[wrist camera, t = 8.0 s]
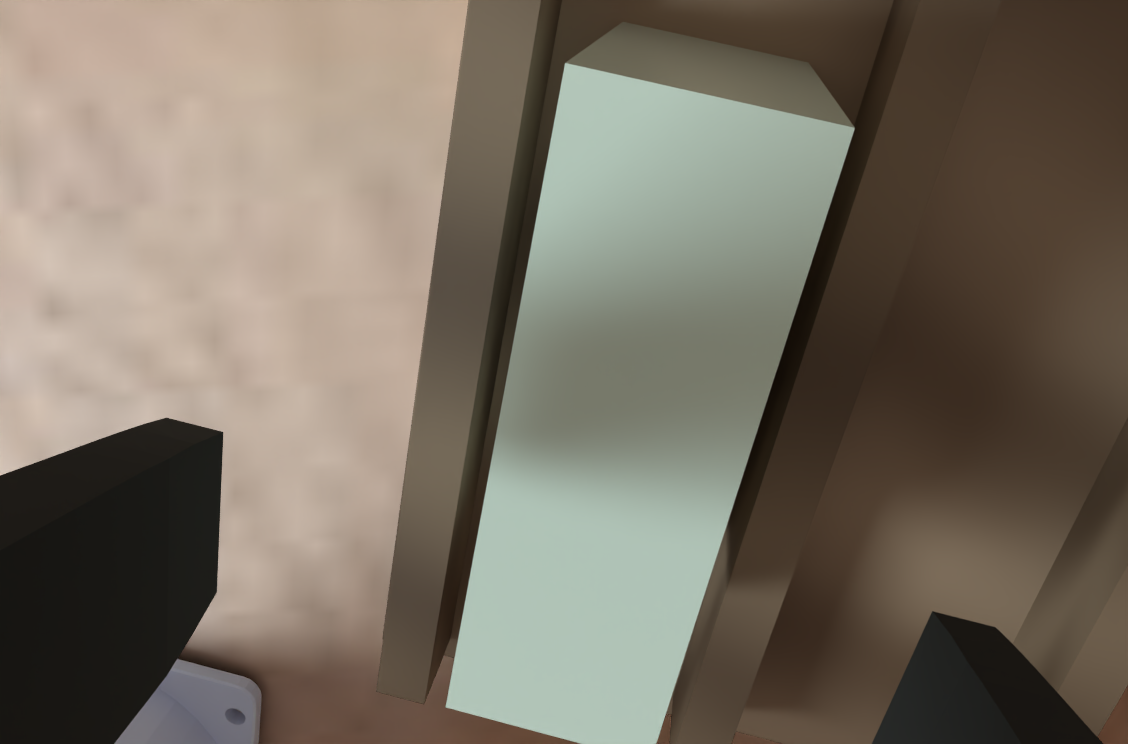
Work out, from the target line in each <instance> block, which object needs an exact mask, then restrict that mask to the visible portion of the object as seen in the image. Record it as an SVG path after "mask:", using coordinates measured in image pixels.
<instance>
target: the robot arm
mask: <svg viewBox="0 0 1128 744" xmlns="http://www.w3.org/2000/svg"><path fill="white" fill-rule="evenodd" d="M222 450H223V432H221V431H217V430H213V429H209V428H205V427H201V426H197V425H193V424H189V423H185V422H181V421H177V420H173V419H169V418H164V419H161V420H157V421H153V422H150V423H146V424H143V425H140V426H137V427H134V428H131V429H128V430H125V431H122V432H119V433H116V434H113V435H111V436H108V437H105V438H102V439H99V440H97V441H94V442H91V443H88V444H86V445H83V446H80V447H77V448H75V449H72V450H69V451H67V452H64V453H61V454H58V455H56V456H53V457H50V458H48V459H45V460H42V461H39V462H37V463H34V464H31V465H28V466H26V467H23V468H20V469H17V470H15V471H12V472H9V473H6V474H3V475H1V476H0V744H259V730H260V715H261V700H262V696H261V691H260V689H259V687H258V686H257V684H256V683H254V682H253V681H252V680H251V679H248V678H246V677H243V676H240V675H236V674H232V673H228V672H225V671H221V670H217V669H213V668H210V667H206V666H202V665H198V664H195V663H191V662H187V661H183V660H180V659H177V658H178V657H179V655H180V654H181V652H182V650H183V649H184V647H185V646H186V644H187V642H188V641H189V639H190V637H191V636H192V634H193V632H194V631H195V629H196V627H197V625H198V624H199V622H200V620H201V618H202V617H203V615H204V613H205V612H206V610H207V608H208V606H209V605H210V603H211V601H212V599H213V598H214V596H215V594H216V593H217V572H218V547H219V523H220V498H221V474H222ZM236 709H237V710H239V711H241V712H242V713H241V712H239V711H237V710H236ZM872 744H1103V743H1102V742H1101V741H1100V740H1099V739H1098V737H1097V736H1096V735H1095V734H1094V733H1093V732H1092V731H1091V730H1090V728H1089V727H1088V726H1087V725H1086V724H1085V723H1084V722H1083V721H1082V719H1081V718H1080V717H1079V716H1078V715H1077V714H1076V713H1075V712H1074V710H1073V709H1072V708H1071V707H1070V706H1069V705H1068V704H1067V703H1066V702H1065V700H1064V699H1063V698H1062V697H1061V696H1060V695H1059V694H1058V693H1057V691H1056V690H1055V689H1054V688H1053V687H1052V686H1051V685H1050V684H1049V683H1048V681H1047V680H1046V679H1045V678H1044V677H1043V676H1042V675H1041V674H1040V673H1039V672H1038V670H1037V669H1036V668H1035V667H1034V666H1033V665H1032V664H1031V663H1030V662H1029V661H1028V660H1027V658H1026V657H1025V656H1024V655H1023V654H1022V653H1021V652H1020V651H1019V650H1018V649H1017V648H1016V647H1015V646H1014V645H1013V644H1012V643H1011V642H1010V641H1009V640H1008V639H1007V638H1006V637H1005V636H1004V635H1003V634H1002V633H1001V632H1000V631H999V630H998V629H997V628H996V627H993V626H989V625H985V624H981V623H977V622H973V621H969V620H965V619H961V618H957V617H953V616H950V615H946V614H942V613H938V612H934V611H932V613H931V615H930V617H929V619H928V622H927V624H926V626H925V628H924V630H923V632H922V635H921V637H920V639H919V641H918V643H917V646H916V648H915V650H914V652H913V654H912V657H911V659H910V661H909V663H908V665H907V668H906V670H905V672H904V674H903V676H902V679H901V681H900V683H899V685H898V687H897V690H896V692H895V694H894V696H893V698H892V700H891V703H890V705H889V707H888V709H887V711H886V714H885V716H884V718H883V720H882V722H881V725H880V727H879V729H878V731H877V733H876V736H875V738H874V740H873V742H872Z"/></svg>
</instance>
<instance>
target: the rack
mask: <svg viewBox="0 0 1128 744" xmlns="http://www.w3.org/2000/svg"><path fill="white" fill-rule="evenodd" d="M622 22H627V23H632V24H636V25H641V26H645V27H650V28H654V29H659V30H663V31H668V32H672V33H677V34H681V35H686V36H691V37H695V38H700V39H704V40H709V41H713V42H718V43H722V44H727V45H731V46H736V47H740V48H745V49H749V50H754V51H758V52H763V53H768V54H772V55H777V56H781V57H786V58H790V59H795V60H799V61H804V62H808V63H809V64H810V65H811V67H812V68H813V70H814V71H815V72H816V74H817V75H818V77H819V78H820V79H821V81H822V82H823V84H824V85H825V86H826V88H827V89H828V91H829V92H830V93H831V95H832V96H833V98H834V99H835V100H836V102H837V103H838V105H839V106H840V108H841V109H842V110H843V112H844V113H845V115H846V116H847V117H848V119H849V120H850V122H851V123H852V124H853V126H854V127H855V129H854V133H853V136H852V139H851V142H850V145H849V148H848V151H847V154H846V157H845V160H844V164H843V167H842V170H841V173H840V176H839V179H838V182H837V185H836V188H835V191H834V195H833V198H832V201H831V204H830V207H829V210H828V213H827V216H826V219H825V222H824V226H823V229H822V232H821V235H820V238H819V241H818V244H817V247H816V250H815V253H814V256H813V260H812V263H811V266H810V269H809V272H808V275H807V278H806V281H805V284H804V287H803V291H802V294H801V297H800V300H799V303H798V306H797V309H796V312H795V315H794V318H793V322H792V325H791V328H790V331H789V334H788V337H787V340H786V343H785V346H784V349H783V353H782V356H781V359H780V362H779V365H778V368H777V371H776V374H775V377H774V380H773V383H772V387H771V390H770V393H769V396H768V399H767V402H766V405H765V408H764V411H763V414H762V418H761V421H760V424H759V427H758V430H757V433H756V436H755V439H754V442H753V445H752V449H751V452H750V455H749V458H748V461H747V464H746V467H745V470H744V473H743V476H742V480H741V483H740V486H739V489H738V492H737V495H736V498H735V501H734V504H733V507H732V511H731V514H730V517H729V520H728V523H727V526H726V529H725V532H724V535H723V538H722V541H721V545H720V548H719V551H718V554H717V557H716V560H715V563H714V566H713V569H712V572H711V576H710V579H709V582H708V585H707V588H706V591H705V594H704V597H703V600H702V603H701V607H700V610H699V613H698V616H697V619H696V622H695V625H694V628H693V631H692V634H691V638H690V641H689V644H688V647H687V650H686V653H685V656H684V659H683V662H682V665H681V668H680V672H679V675H678V678H677V681H676V684H675V687H674V690H673V693H672V696H671V699H670V703H669V706H668V709H667V712H666V713H667V714H671V715H672V716H671V730H670V744H731V743H732V741H733V738H734V735H735V732H740V733H744V734H747V735H751V736H755V737H759V738H763V739H767V740H770V741H774V742H778V743H782V744H872V742H873V740H874V738H875V736H876V733H877V731H878V729H879V727H880V725H881V722H882V720H883V718H884V716H885V714H886V711H887V709H888V707H889V705H890V703H891V700H892V698H893V696H894V694H895V692H896V690H897V687H898V685H899V683H900V681H901V679H902V676H903V674H904V672H905V670H906V668H907V665H908V663H909V661H910V659H911V657H912V654H913V652H914V650H915V648H916V646H917V643H918V641H919V639H920V637H921V635H922V632H923V630H924V628H925V626H926V624H927V622H928V619H929V617H930V615H931V613H932V611H934V612H938V613H942V614H946V615H950V616H953V617H957V618H961V619H965V620H969V621H973V622H977V623H981V624H985V625H989V626H993V627H996V628H997V629H998V630H999V631H1000V632H1001V633H1002V634H1003V635H1004V636H1005V637H1006V638H1007V639H1008V640H1009V641H1010V642H1011V643H1012V644H1013V645H1014V646H1015V647H1016V648H1017V649H1018V650H1019V651H1020V652H1021V653H1022V654H1023V655H1024V656H1025V657H1026V658H1027V660H1028V661H1029V662H1030V663H1031V664H1032V665H1033V666H1034V667H1035V668H1036V669H1037V670H1038V672H1039V673H1040V674H1041V675H1042V676H1043V677H1044V678H1045V679H1046V680H1047V681H1048V683H1049V684H1050V685H1051V686H1052V687H1053V688H1054V689H1055V690H1056V691H1057V693H1058V694H1059V695H1060V696H1061V697H1062V698H1063V699H1064V700H1065V702H1066V703H1067V704H1068V705H1069V706H1070V707H1071V708H1072V709H1073V710H1074V712H1075V713H1076V714H1077V715H1078V716H1079V717H1080V718H1081V719H1082V721H1083V722H1084V723H1085V724H1086V725H1087V726H1088V727H1089V728H1090V730H1091V731H1092V732H1093V733H1094V734H1095V735H1096V736H1097V737H1098V735H1099V733H1100V732H1101V730H1102V728H1103V726H1104V725H1105V723H1106V721H1107V720H1108V718H1109V716H1110V715H1111V713H1112V711H1113V710H1114V708H1115V706H1116V704H1117V703H1118V701H1119V699H1120V698H1121V696H1122V694H1123V693H1124V691H1125V689H1126V688H1127V686H1128V0H469V1H468V9H467V16H466V24H465V31H464V38H463V46H462V53H461V61H460V68H459V76H458V83H457V90H456V98H455V105H454V113H453V120H452V127H451V135H450V142H449V150H448V157H447V164H446V172H445V179H444V187H443V194H442V201H441V209H440V216H439V224H438V231H437V239H436V246H435V253H434V261H433V268H432V276H431V283H430V290H429V298H428V305H427V313H426V320H425V327H424V335H423V342H422V350H421V357H420V364H419V372H418V379H417V387H416V394H415V402H414V409H413V416H412V424H411V431H410V439H409V446H408V453H407V461H406V468H405V476H404V483H403V490H402V498H401V505H400V513H399V520H398V527H397V535H396V542H395V550H394V557H393V565H392V572H391V579H390V587H389V594H388V602H387V609H386V616H385V624H384V631H383V646H382V653H381V660H380V668H379V675H378V683H377V690H376V692H379V693H383V694H387V695H391V696H394V697H398V698H402V699H406V700H410V701H413V702H417V703H421V704H424V703H425V701H426V698H427V696H428V693H429V691H430V688H431V686H432V683H433V681H434V678H435V676H436V673H437V671H438V668H439V666H440V663H441V661H442V658H443V656H444V655H445V656H449V657H453V658H455V654H456V648H457V643H458V637H459V632H460V627H461V621H462V616H463V611H464V605H465V600H466V594H467V589H468V584H469V578H470V573H471V567H472V562H473V557H474V551H475V546H476V541H477V535H478V530H479V524H480V519H481V514H482V508H483V503H484V497H485V492H486V487H487V481H488V476H489V470H490V465H491V460H492V454H493V449H494V444H495V438H496V433H497V427H498V422H499V417H500V411H501V406H502V400H503V395H504V390H505V384H506V379H507V374H508V368H509V363H510V357H511V352H512V347H513V341H514V336H515V330H516V325H517V320H518V314H519V309H520V304H521V298H522V293H523V287H524V282H525V277H526V271H527V266H528V260H529V255H530V250H531V244H532V239H533V234H534V228H535V223H536V217H537V212H538V207H539V201H540V196H541V190H542V185H543V180H544V174H545V169H546V163H547V158H548V153H549V147H550V142H551V137H552V131H553V126H554V120H555V115H556V110H557V104H558V99H559V93H560V88H561V83H562V77H563V72H564V67H565V63H566V62H567V61H569V60H570V59H571V58H573V57H574V56H576V55H577V54H578V53H580V52H581V51H583V50H584V49H585V48H587V47H588V46H590V45H591V44H592V43H594V42H595V41H597V40H598V39H599V38H601V37H602V36H604V35H605V34H606V33H608V32H609V31H611V30H612V29H613V28H615V27H616V26H618V25H619V24H620V23H622Z"/></svg>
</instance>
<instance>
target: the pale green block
mask: <svg viewBox="0 0 1128 744" xmlns="http://www.w3.org/2000/svg"><path fill="white" fill-rule="evenodd" d="M854 129H855V127H854V126H853V124H852V123H851V122H850V120H849V119H848V117H847V116H846V115H845V113H844V112H843V110H842V109H841V108H840V106H839V105H838V103H837V102H836V100H835V99H834V98H833V96H832V95H831V93H830V92H829V91H828V89H827V88H826V86H825V85H824V84H823V82H822V81H821V79H820V78H819V77H818V75H817V74H816V72H815V71H814V70H813V68H812V67H811V65H810V64H809V63H808V62H804V61H799V60H795V59H790V58H786V57H781V56H777V55H772V54H768V53H763V52H758V51H754V50H749V49H745V48H740V47H736V46H731V45H727V44H722V43H718V42H713V41H709V40H704V39H700V38H695V37H691V36H686V35H681V34H677V33H672V32H668V31H663V30H659V29H654V28H650V27H645V26H641V25H636V24H632V23H627V22H622V23H620V24H619V25H618V26H616V27H615V28H613V29H612V30H611V31H609V32H608V33H606V34H605V35H604V36H602V37H601V38H599V39H598V40H597V41H595V42H594V43H592V44H591V45H590V46H588V47H587V48H585V49H584V50H583V51H581V52H580V53H578V54H577V55H576V56H574V57H573V58H571V59H570V60H569V61H567V62H566V63H565V67H564V72H563V77H562V83H561V88H560V93H559V99H558V104H557V110H556V115H555V120H554V126H553V131H552V137H551V142H550V147H549V153H548V158H547V163H546V169H545V174H544V180H543V185H542V190H541V196H540V201H539V207H538V212H537V217H536V223H535V228H534V234H533V239H532V244H531V250H530V255H529V260H528V266H527V271H526V277H525V282H524V287H523V293H522V298H521V304H520V309H519V314H518V320H517V325H516V330H515V336H514V341H513V347H512V352H511V357H510V363H509V368H508V374H507V379H506V384H505V390H504V395H503V400H502V406H501V411H500V417H499V422H498V427H497V433H496V438H495V444H494V449H493V454H492V460H491V465H490V470H489V476H488V481H487V487H486V492H485V497H484V503H483V508H482V514H481V519H480V524H479V530H478V535H477V541H476V546H475V551H474V557H473V562H472V567H471V573H470V578H469V584H468V589H467V594H466V600H465V605H464V611H463V616H462V621H461V627H460V632H459V637H458V643H457V648H456V654H455V659H454V664H453V670H452V675H451V681H450V686H449V691H448V697H447V702H446V708H450V709H454V710H457V711H461V712H465V713H469V714H472V715H476V716H480V717H484V718H487V719H491V720H495V721H498V722H502V723H506V724H510V725H513V726H517V727H521V728H524V729H528V730H532V731H536V732H539V733H543V734H547V735H551V736H554V737H558V738H562V739H565V740H569V741H573V742H577V743H580V744H656V743H657V740H658V737H659V734H660V730H661V727H662V724H663V721H664V718H665V715H666V712H667V709H668V706H669V703H670V699H671V696H672V693H673V690H674V687H675V684H676V681H677V678H678V675H679V672H680V668H681V665H682V662H683V659H684V656H685V653H686V650H687V647H688V644H689V641H690V638H691V634H692V631H693V628H694V625H695V622H696V619H697V616H698V613H699V610H700V607H701V603H702V600H703V597H704V594H705V591H706V588H707V585H708V582H709V579H710V576H711V572H712V569H713V566H714V563H715V560H716V557H717V554H718V551H719V548H720V545H721V541H722V538H723V535H724V532H725V529H726V526H727V523H728V520H729V517H730V514H731V511H732V507H733V504H734V501H735V498H736V495H737V492H738V489H739V486H740V483H741V480H742V476H743V473H744V470H745V467H746V464H747V461H748V458H749V455H750V452H751V449H752V445H753V442H754V439H755V436H756V433H757V430H758V427H759V424H760V421H761V418H762V414H763V411H764V408H765V405H766V402H767V399H768V396H769V393H770V390H771V387H772V383H773V380H774V377H775V374H776V371H777V368H778V365H779V362H780V359H781V356H782V353H783V349H784V346H785V343H786V340H787V337H788V334H789V331H790V328H791V325H792V322H793V318H794V315H795V312H796V309H797V306H798V303H799V300H800V297H801V294H802V291H803V287H804V284H805V281H806V278H807V275H808V272H809V269H810V266H811V263H812V260H813V256H814V253H815V250H816V247H817V244H818V241H819V238H820V235H821V232H822V229H823V226H824V222H825V219H826V216H827V213H828V210H829V207H830V204H831V201H832V198H833V195H834V191H835V188H836V185H837V182H838V179H839V176H840V173H841V170H842V167H843V164H844V160H845V157H846V154H847V151H848V148H849V145H850V142H851V139H852V136H853V133H854Z"/></svg>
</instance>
